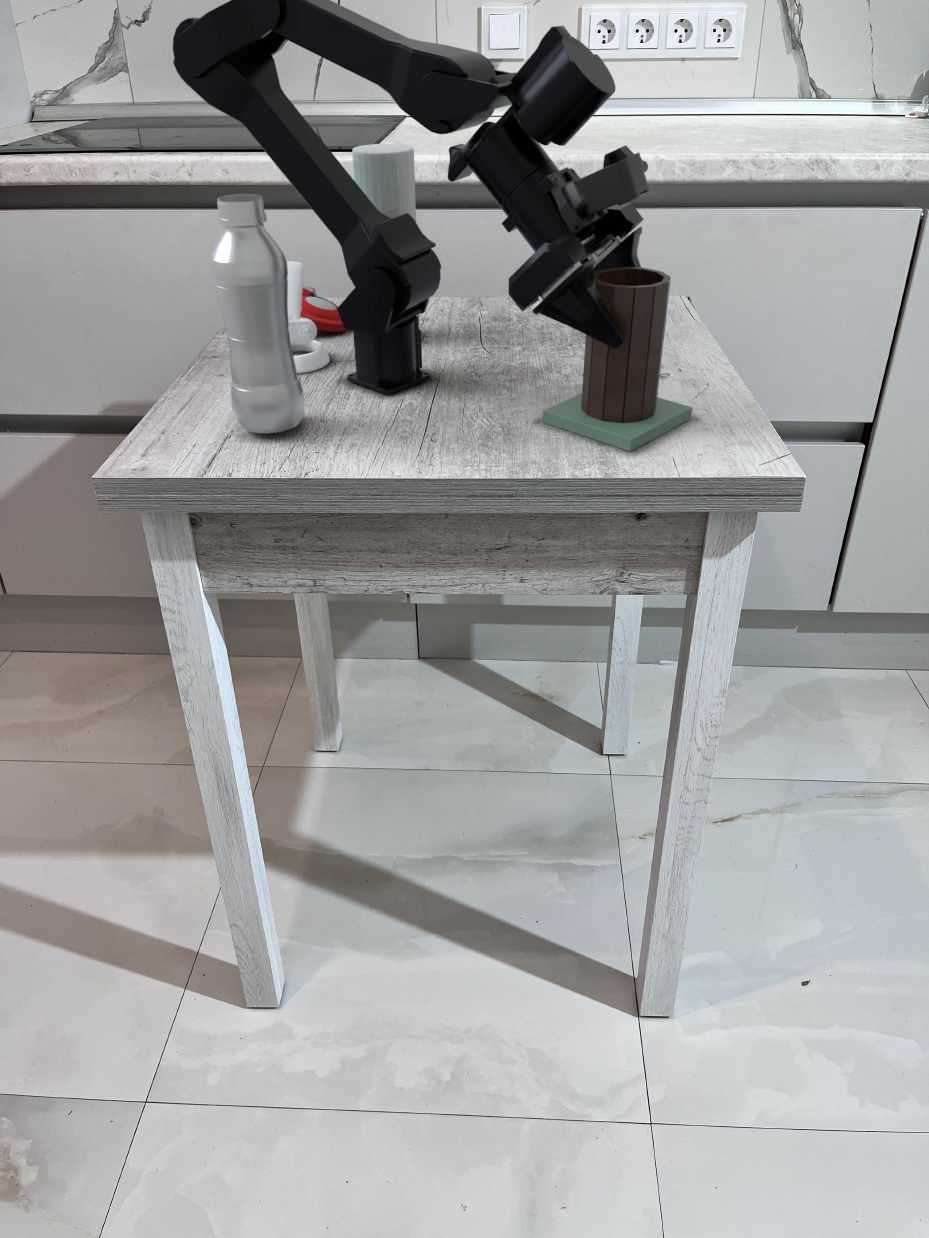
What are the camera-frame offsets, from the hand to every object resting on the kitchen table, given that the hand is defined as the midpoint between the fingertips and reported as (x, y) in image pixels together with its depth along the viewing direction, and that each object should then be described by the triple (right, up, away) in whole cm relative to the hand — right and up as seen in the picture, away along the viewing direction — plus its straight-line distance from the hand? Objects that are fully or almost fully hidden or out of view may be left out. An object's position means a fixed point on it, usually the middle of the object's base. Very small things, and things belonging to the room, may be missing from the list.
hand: (637, 330), depth 83 cm
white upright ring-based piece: (-34, +3, +20) cm, 40 cm away
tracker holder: (-34, +10, +31) cm, 47 cm away
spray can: (-24, +7, +27) cm, 36 cm away
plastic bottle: (-33, -8, +5) cm, 35 cm away
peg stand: (-1, -7, +5) cm, 9 cm away
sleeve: (-1, -6, +5) cm, 8 cm away
